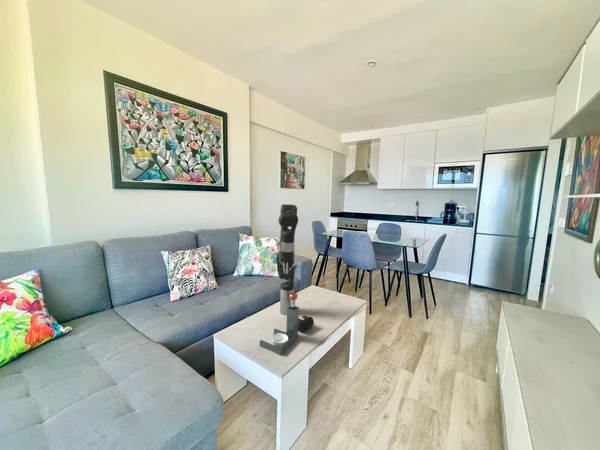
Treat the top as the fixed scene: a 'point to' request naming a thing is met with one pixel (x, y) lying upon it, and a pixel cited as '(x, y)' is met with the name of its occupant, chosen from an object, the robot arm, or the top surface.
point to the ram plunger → (293, 300)
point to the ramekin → (279, 339)
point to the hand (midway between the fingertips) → (286, 279)
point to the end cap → (305, 323)
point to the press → (290, 332)
